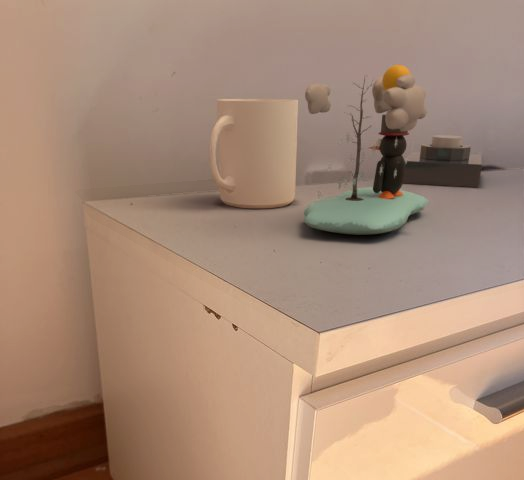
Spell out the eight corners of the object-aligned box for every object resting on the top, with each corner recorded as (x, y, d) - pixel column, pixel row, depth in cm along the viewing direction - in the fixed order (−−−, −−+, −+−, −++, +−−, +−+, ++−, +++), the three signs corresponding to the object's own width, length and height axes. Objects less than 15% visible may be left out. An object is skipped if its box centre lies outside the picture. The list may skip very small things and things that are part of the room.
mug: (307, 199, 73) (311, 100, 68) (261, 216, 63) (262, 102, 58) (244, 192, 77) (243, 98, 72) (192, 207, 68) (187, 100, 63)
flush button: (460, 147, 89) (462, 135, 88) (460, 150, 85) (461, 138, 85) (431, 146, 90) (433, 134, 90) (429, 149, 87) (431, 137, 86)
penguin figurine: (355, 201, 72) (366, 67, 65) (440, 211, 67) (461, 67, 60) (278, 233, 56) (282, 61, 50) (381, 249, 51) (400, 60, 45)
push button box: (478, 175, 94) (483, 143, 92) (478, 187, 83) (484, 151, 81) (410, 171, 97) (413, 140, 95) (401, 183, 86) (405, 148, 84)
